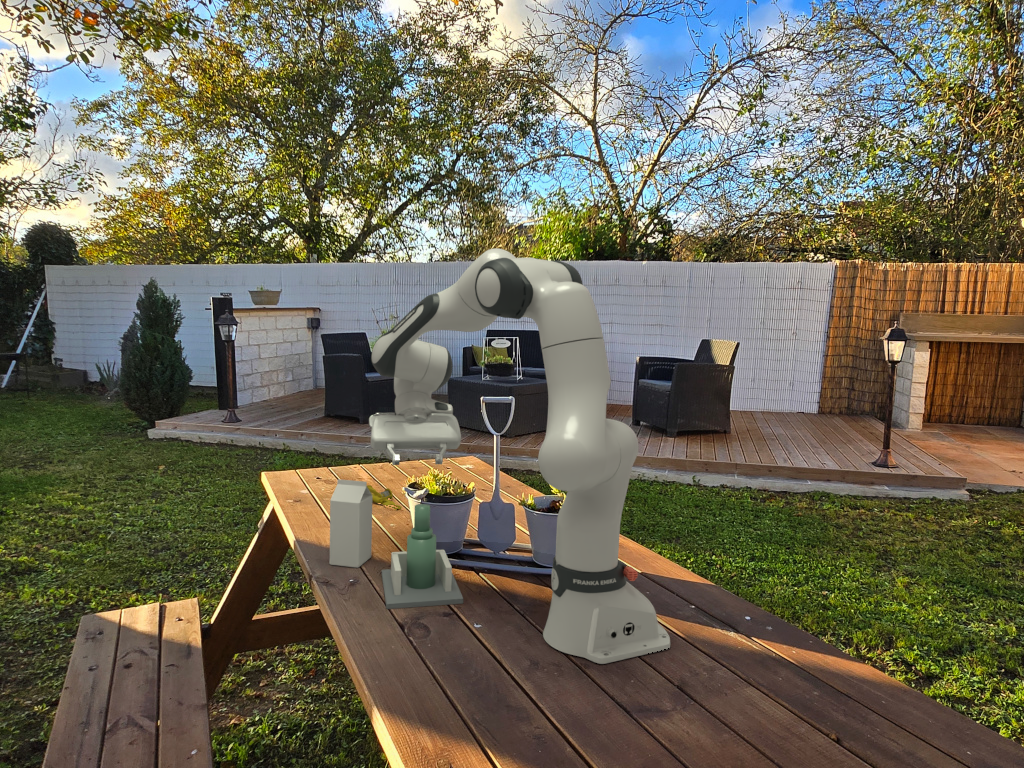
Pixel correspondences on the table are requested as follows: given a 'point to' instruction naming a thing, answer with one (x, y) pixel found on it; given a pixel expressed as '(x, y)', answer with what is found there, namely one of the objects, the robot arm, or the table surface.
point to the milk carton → (350, 524)
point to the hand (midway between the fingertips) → (417, 463)
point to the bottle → (421, 551)
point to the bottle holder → (409, 597)
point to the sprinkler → (382, 497)
